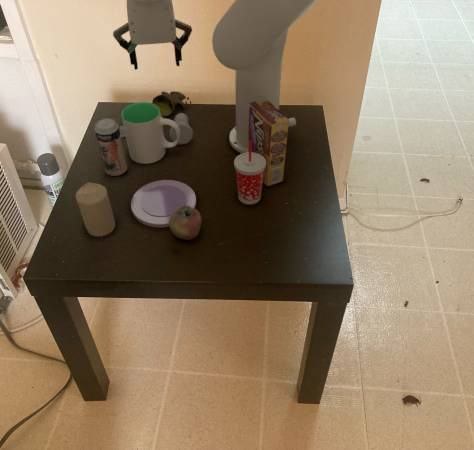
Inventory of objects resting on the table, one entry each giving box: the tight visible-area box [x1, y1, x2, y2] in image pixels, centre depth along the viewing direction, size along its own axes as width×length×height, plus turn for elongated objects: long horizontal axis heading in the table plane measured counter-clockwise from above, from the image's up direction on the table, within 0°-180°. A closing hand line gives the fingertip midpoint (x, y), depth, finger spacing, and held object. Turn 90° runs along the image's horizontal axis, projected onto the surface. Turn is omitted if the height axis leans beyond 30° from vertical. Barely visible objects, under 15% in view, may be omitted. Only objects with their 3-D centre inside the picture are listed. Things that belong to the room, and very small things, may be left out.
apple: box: [168, 206, 202, 241], centre depth 89 cm, size 6×8×6 cm
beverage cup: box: [233, 140, 266, 205], centre depth 94 cm, size 6×6×14 cm
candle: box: [75, 181, 116, 238], centre depth 90 cm, size 6×6×10 cm
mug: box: [120, 101, 181, 165], centre depth 105 cm, size 12×8×10 cm, turn 87°
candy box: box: [248, 99, 290, 187], centre depth 99 cm, size 9×4×15 cm, turn 27°
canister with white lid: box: [94, 117, 128, 176], centre depth 101 cm, size 5×5×12 cm
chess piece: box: [168, 112, 194, 146], centre depth 113 cm, size 5×5×9 cm
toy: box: [151, 91, 187, 117], centre depth 122 cm, size 7×5×10 cm
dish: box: [130, 179, 197, 229], centre depth 97 cm, size 13×13×1 cm
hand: (156, 65), depth 113 cm, fingers open, 9 cm apart
